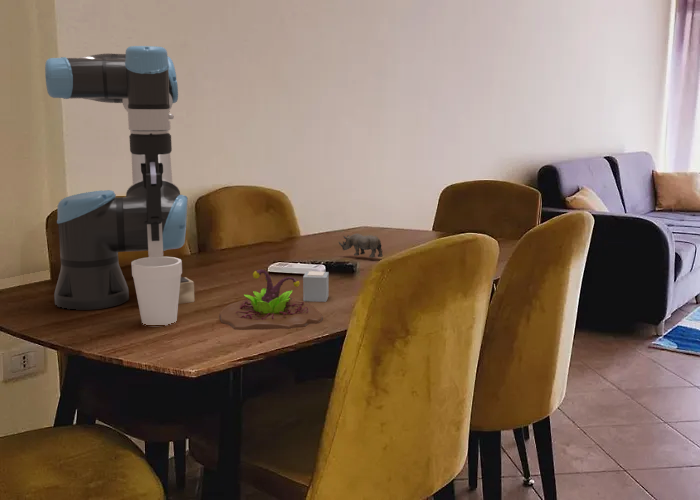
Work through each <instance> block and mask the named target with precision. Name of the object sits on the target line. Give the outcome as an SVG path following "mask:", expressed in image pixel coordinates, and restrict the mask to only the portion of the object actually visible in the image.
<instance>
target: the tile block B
mask: <svg viewBox="0 0 700 500" xmlns="http://www.w3.org/2000/svg"><path fill="white" fill-rule="evenodd" d="M329 274H330V273H329V271H311V270H309V271H305V273H304V274H303V277H302V289H303V290H302V294H303V296H302V297H303V298H302V301H304V302H317V303H318V302H319V303H321V302H324V303H326V302H327V301H328V298H329V282H330V281H329V278H330V277H329Z"/></svg>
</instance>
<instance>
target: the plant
mask: <svg viewBox="0 0 700 500" xmlns="http://www.w3.org/2000/svg"><path fill="white" fill-rule="evenodd" d="M262 274H264V276H265V278H264V280H265V282H266V288H265V287H264V288H261V290H260V292H258V291H256V290H254V291H253V292H252V293H253V295H254V296H252V295H250V294H243V296H244V297H245V298H246V299H243V300H238V301H237V302H234V303H233V302H232V303H229V304H227V305H226V306H225V307H224V308H222V309H221V311H220V312H219V319H220V322H221V324H224V325H227V326H230V328H233V330H236V331H237V330H239V331H240V330H241V331H244V330H245V331H248V330H249V331H250V330H271V329H272V330H273V329H284V330H285V329H287V330H291V329H294V328H295V329H296V328H304V327H307V326H308V325H309V324H310V325H311V324H315V325H316V324H320V323H321V322H322V321H323V320H324V319H323V314H322V313H321V312H320V311H319V310H317V308H316V307H315V306H314V305H313V304H311V302H310V303H309V302H308V301H303V300H302V299H301V300H300V299H295V298H292V297H290V296H291V294H292V293H293V289H291V290H287V291H285V292H283V293H282V294H280V293H281V292H280V291H281V287H282V286H283V285H284V283H285V282H286V281H289V280H291V281H292V283H293V284H292V285H293V286H294V287H296V288H298V287H299V286H300V284H301V283H300V281H299V280H298V279H297V278H294V277H292V276H286V277H283V278H282V279H279V280H278V282H277V283H276V284H275V285H274V286H273V277H272V276H271V275H270V274H269V273H268V271H266V269H258V270H257V269H256V270H254V272H253V273H252V277H253V279H259V278H260V276H261V275H262Z"/></svg>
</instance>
